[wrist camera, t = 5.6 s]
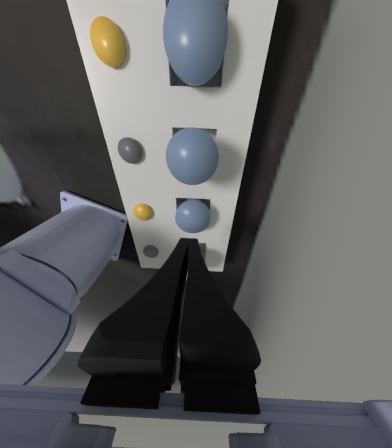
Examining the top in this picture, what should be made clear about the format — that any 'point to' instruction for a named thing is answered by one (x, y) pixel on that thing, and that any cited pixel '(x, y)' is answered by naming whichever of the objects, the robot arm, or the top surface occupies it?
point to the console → (171, 115)
